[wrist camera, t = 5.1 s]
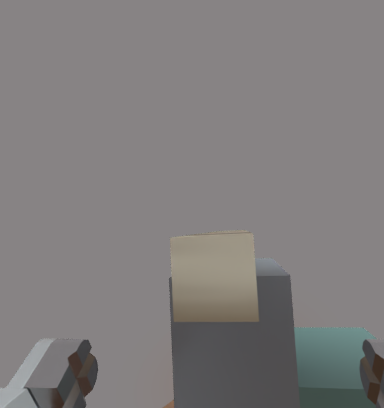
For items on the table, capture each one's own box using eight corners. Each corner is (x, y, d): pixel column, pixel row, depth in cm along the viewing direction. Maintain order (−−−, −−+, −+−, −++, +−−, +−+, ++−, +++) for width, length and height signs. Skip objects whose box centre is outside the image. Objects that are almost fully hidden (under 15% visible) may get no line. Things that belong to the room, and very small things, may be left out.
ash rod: (259, 321, 9) (253, 233, 9) (173, 321, 9) (169, 237, 10) (246, 258, 28) (245, 230, 28) (218, 259, 28) (217, 231, 28)
